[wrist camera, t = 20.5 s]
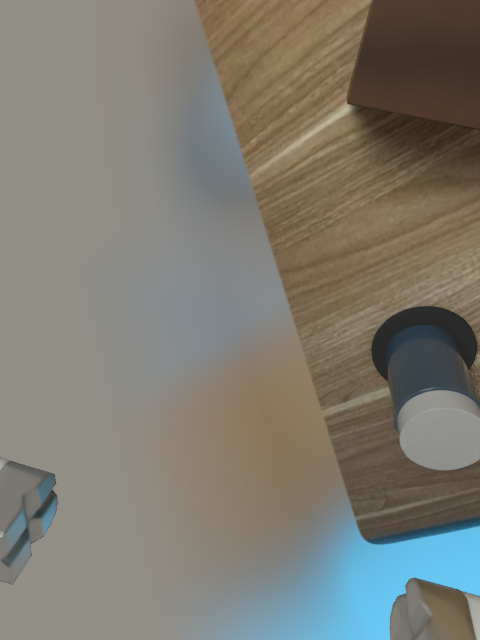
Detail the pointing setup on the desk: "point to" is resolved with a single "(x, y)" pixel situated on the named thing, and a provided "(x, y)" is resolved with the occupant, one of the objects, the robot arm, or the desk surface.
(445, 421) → the jar
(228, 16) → the desk surface
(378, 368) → the coaster
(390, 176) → the desk surface
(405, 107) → the prop block
